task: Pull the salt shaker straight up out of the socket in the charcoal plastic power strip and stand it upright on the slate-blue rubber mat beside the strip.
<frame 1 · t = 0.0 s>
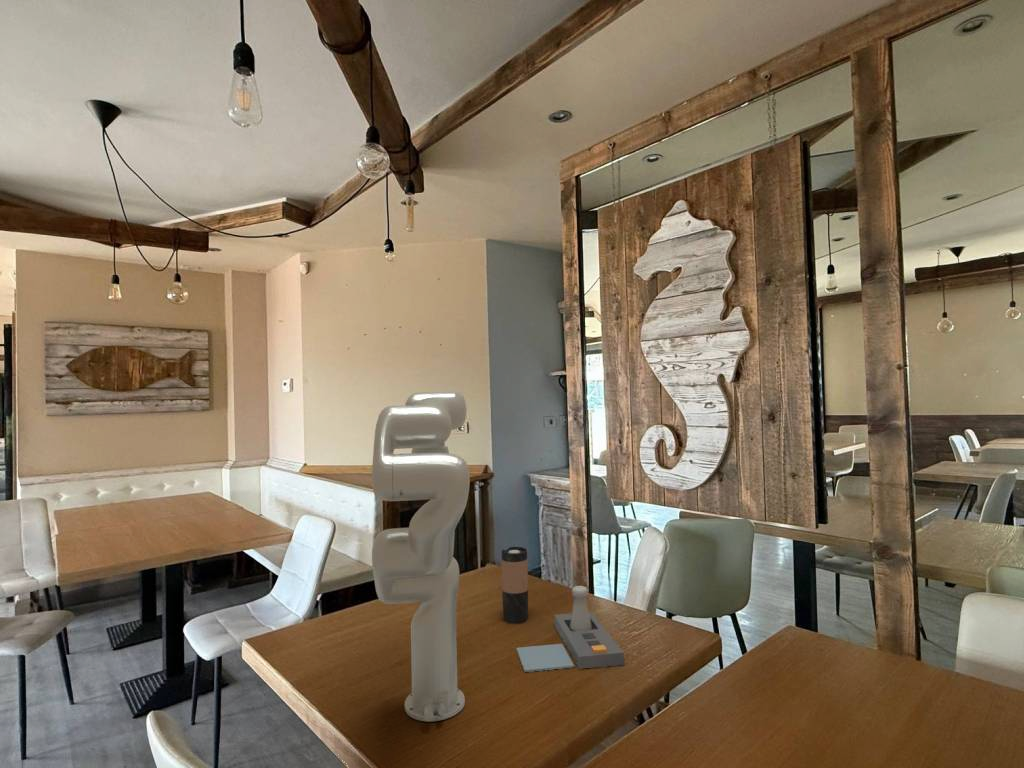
hand: (431, 508, 142), 37 cm above the table, tool pointing down, fingers open, 9 cm apart
travel mug: (515, 619, 162), on the table
rubber mat: (544, 658, 137), on the table
salt shaker: (581, 636, 150), resting in power strip
power strip: (586, 643, 145), on the table
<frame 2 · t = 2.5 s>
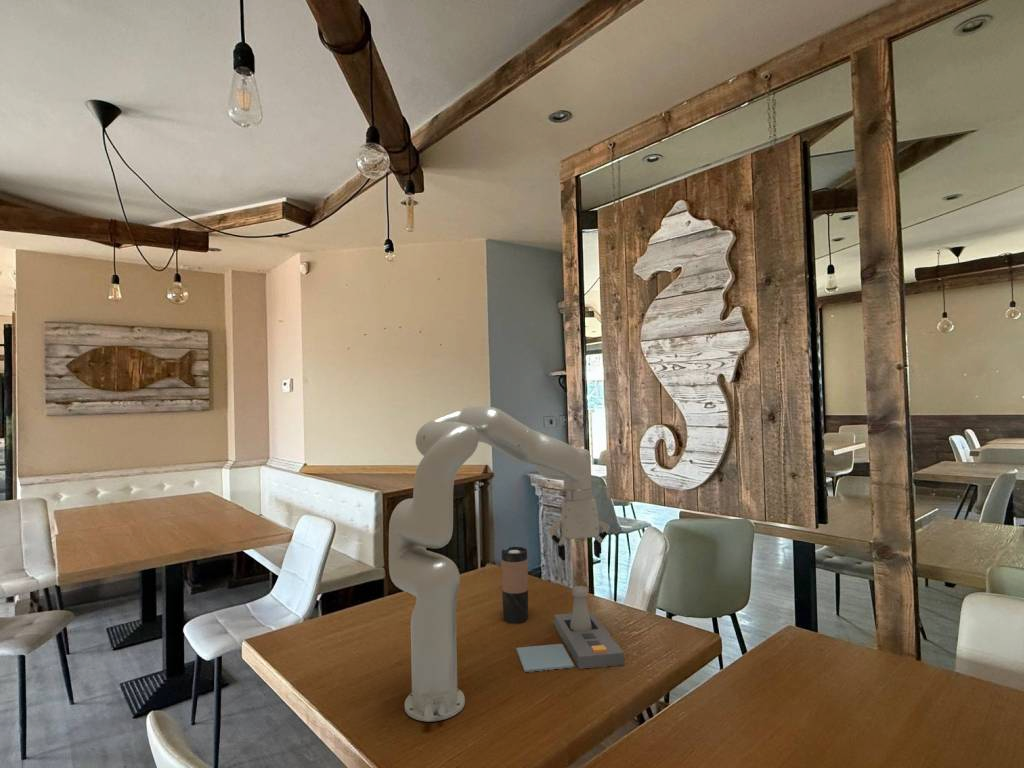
hand: (579, 557, 151), 21 cm above the table, tool pointing down, fingers open, 9 cm apart
nothing on the table moved.
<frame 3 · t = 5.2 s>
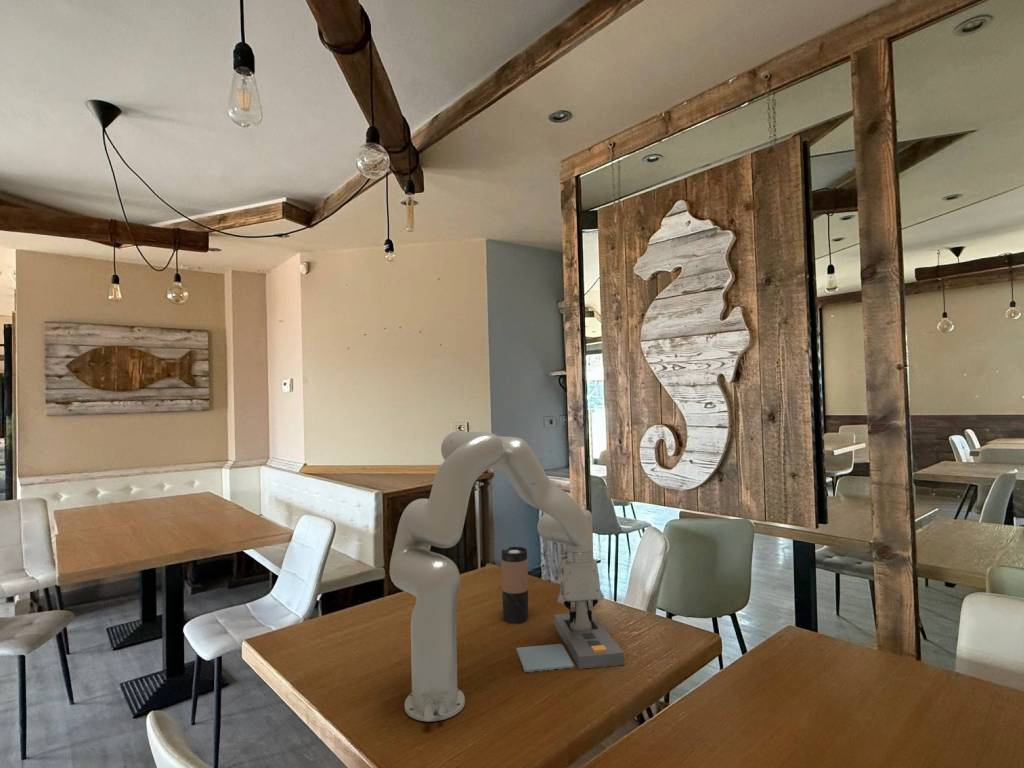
hand: (580, 623, 150), 3 cm above the table, tool pointing down, fingers closed on salt shaker, 3 cm apart
salt shaker: (581, 636, 150), resting in power strip, touching gripper
everything else where it was.
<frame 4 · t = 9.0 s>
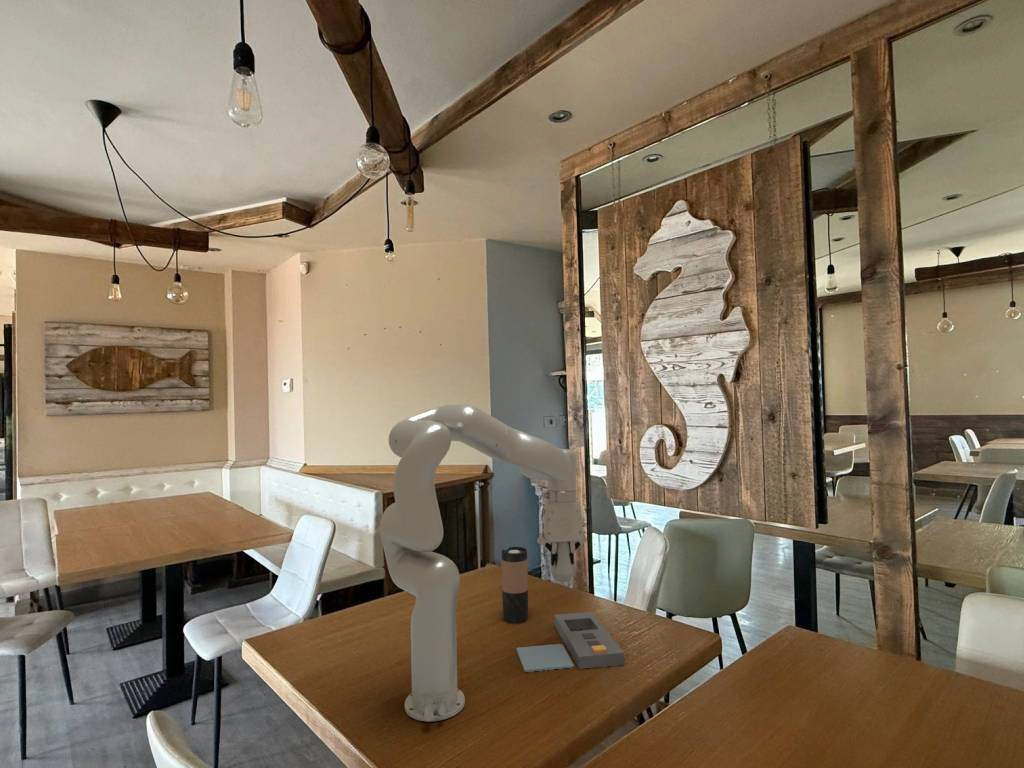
hand: (562, 567, 144), 20 cm above the table, tool pointing down, fingers closed on salt shaker, 3 cm apart
salt shaker: (562, 580, 144), point 17 cm above the table, touching gripper
everything else where it was.
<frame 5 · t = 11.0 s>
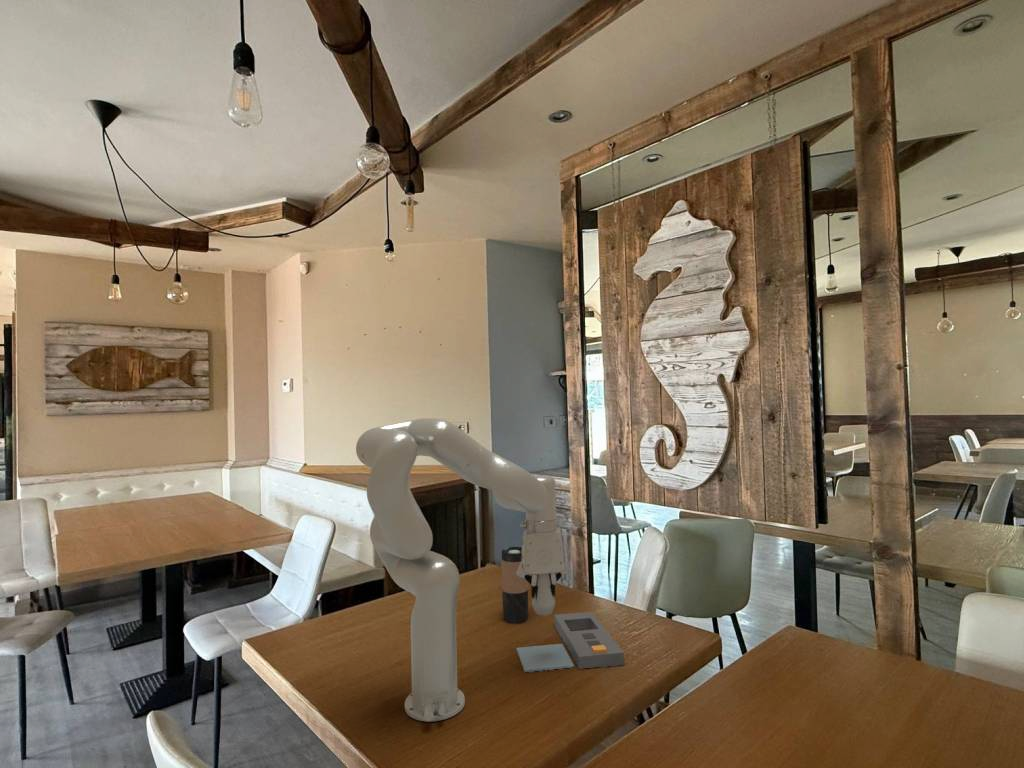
hand: (543, 599, 138), 15 cm above the table, tool pointing down, fingers closed on salt shaker, 3 cm apart
salt shaker: (543, 613, 138), point 11 cm above the table, touching gripper
everything else where it was.
when the fingers open (6 cm above the table, at t = 12.8 s): salt shaker drops 2 cm, resting on rubber mat.
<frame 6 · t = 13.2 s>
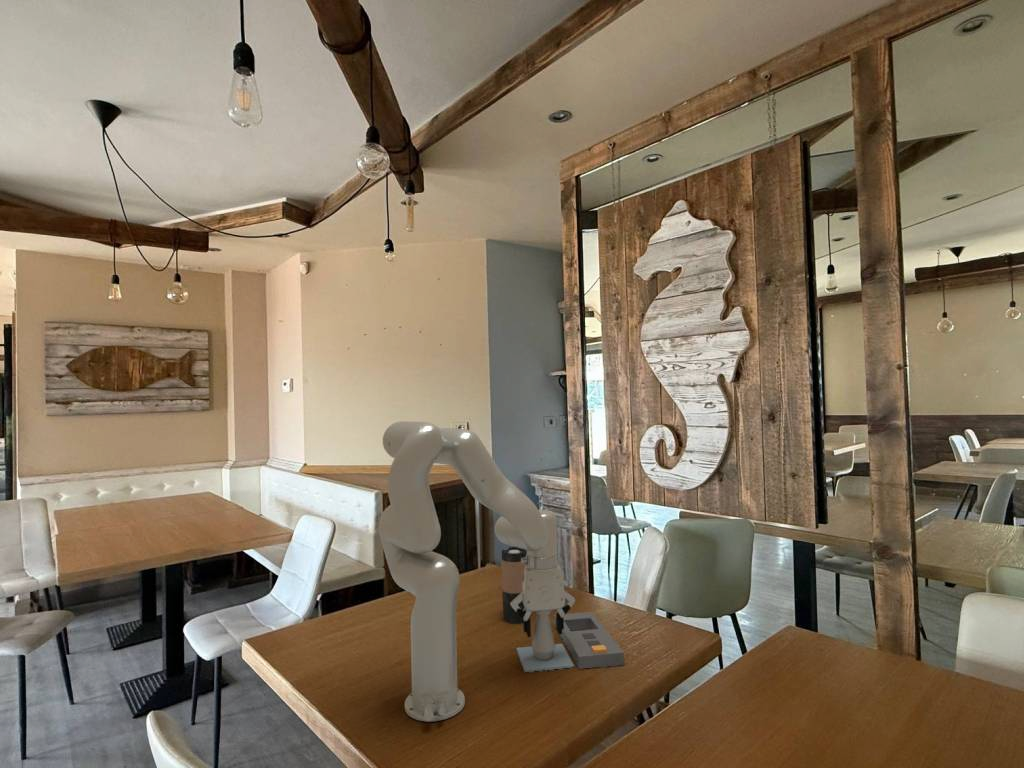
hand: (543, 633, 137), 6 cm above the table, tool pointing down, fingers open, 7 cm apart
salt shaker: (543, 657, 137), resting on rubber mat
everything else where it was.
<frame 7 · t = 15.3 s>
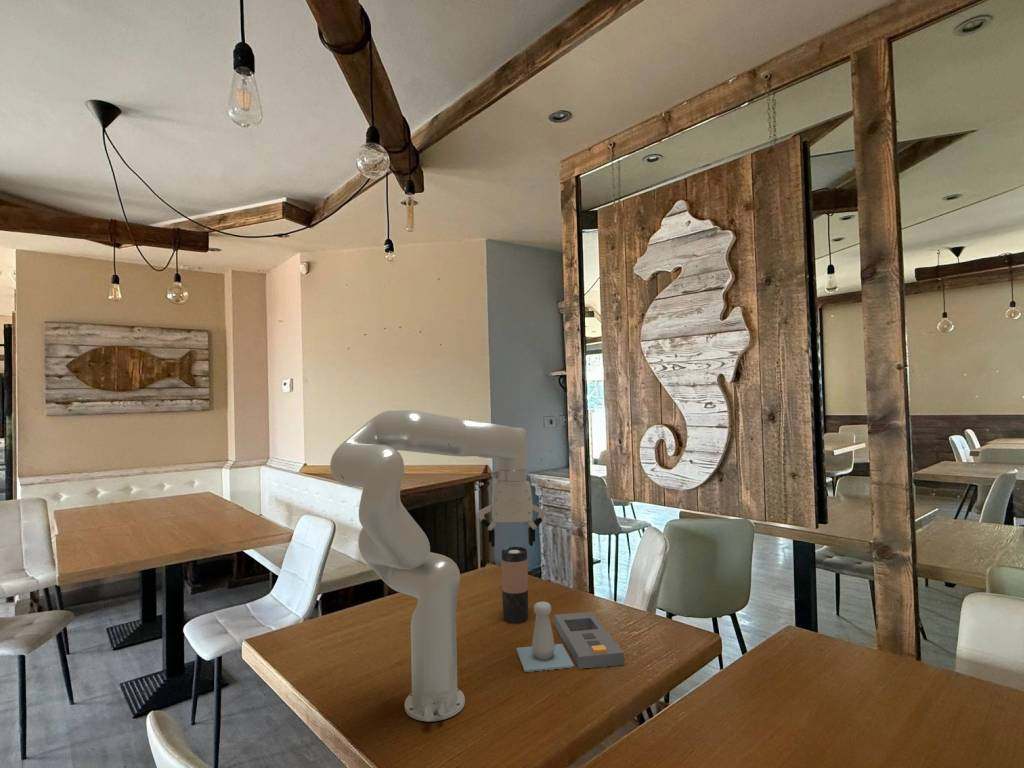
hand: (511, 544, 139), 28 cm above the table, tool pointing down, fingers open, 9 cm apart
nothing on the table moved.
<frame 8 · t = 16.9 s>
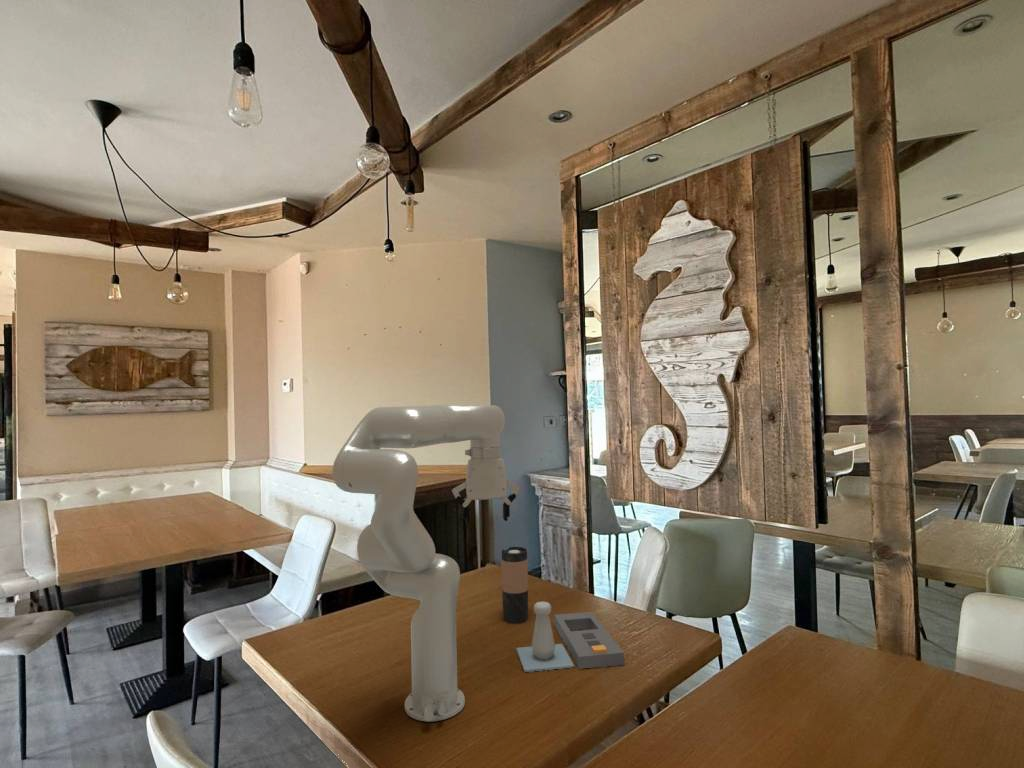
hand: (486, 520, 142), 33 cm above the table, tool pointing down, fingers open, 9 cm apart
nothing on the table moved.
at the end: salt shaker inside the target area on the rubber mat (0.2 cm from its centre), point 0.4 cm above the rubber mat's base; salt shaker tilted 0°; the gripper is holding nothing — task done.
